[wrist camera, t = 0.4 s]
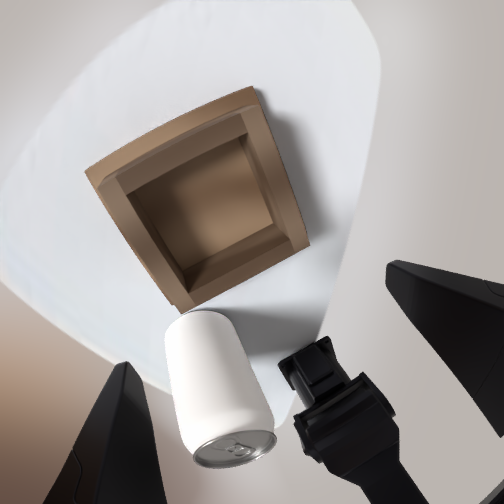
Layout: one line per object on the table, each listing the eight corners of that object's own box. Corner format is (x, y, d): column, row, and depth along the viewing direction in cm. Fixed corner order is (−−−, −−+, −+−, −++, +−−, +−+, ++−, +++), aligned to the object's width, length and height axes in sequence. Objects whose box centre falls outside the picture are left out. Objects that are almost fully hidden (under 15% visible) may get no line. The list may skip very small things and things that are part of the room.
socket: (301, 228, 24) (326, 250, 21) (170, 298, 23) (176, 330, 20) (247, 86, 18) (269, 82, 14) (87, 168, 17) (72, 182, 14)
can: (211, 294, 24) (258, 415, 14) (245, 337, 28) (296, 442, 18) (149, 331, 24) (165, 456, 14) (190, 369, 28) (220, 476, 17)
